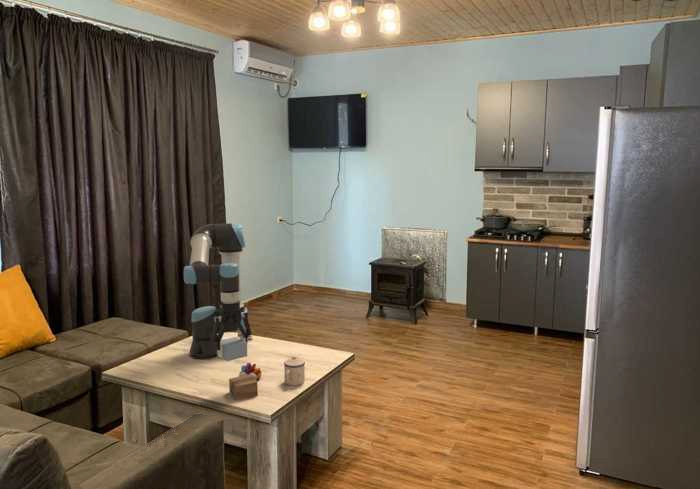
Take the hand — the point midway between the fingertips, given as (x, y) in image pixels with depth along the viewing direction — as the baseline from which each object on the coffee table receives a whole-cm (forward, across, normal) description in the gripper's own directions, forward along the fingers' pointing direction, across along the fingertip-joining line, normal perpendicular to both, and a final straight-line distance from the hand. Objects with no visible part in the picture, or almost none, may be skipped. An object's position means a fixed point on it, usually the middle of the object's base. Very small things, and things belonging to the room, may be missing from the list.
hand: (232, 354), depth 221 cm
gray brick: (0, 0, 0) cm, 0 cm away
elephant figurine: (+16, +30, +57) cm, 66 cm away
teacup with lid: (+17, +25, -5) cm, 31 cm away
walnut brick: (+17, +3, -3) cm, 17 cm away
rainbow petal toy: (+17, +12, +10) cm, 22 cm away
